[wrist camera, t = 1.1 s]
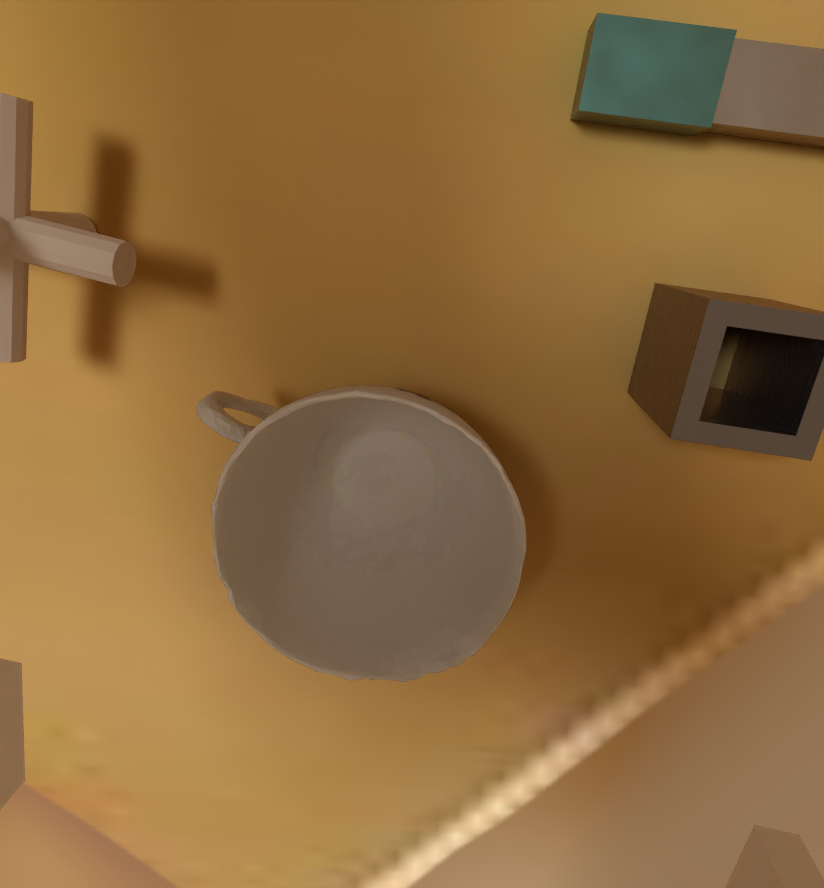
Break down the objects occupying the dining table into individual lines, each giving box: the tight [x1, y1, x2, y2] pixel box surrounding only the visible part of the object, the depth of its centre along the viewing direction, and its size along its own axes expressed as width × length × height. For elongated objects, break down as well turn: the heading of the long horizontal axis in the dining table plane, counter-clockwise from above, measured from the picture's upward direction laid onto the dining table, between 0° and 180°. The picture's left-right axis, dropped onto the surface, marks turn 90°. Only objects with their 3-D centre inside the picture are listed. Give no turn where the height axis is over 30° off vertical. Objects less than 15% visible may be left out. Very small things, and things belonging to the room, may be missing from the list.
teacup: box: [196, 385, 526, 682], centre depth 28 cm, size 15×12×8 cm
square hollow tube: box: [628, 283, 824, 461], centre depth 25 cm, size 5×5×7 cm
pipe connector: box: [0, 93, 137, 363], centre depth 25 cm, size 10×10×10 cm
